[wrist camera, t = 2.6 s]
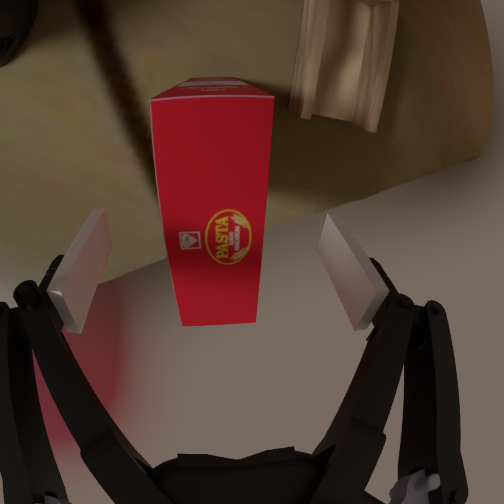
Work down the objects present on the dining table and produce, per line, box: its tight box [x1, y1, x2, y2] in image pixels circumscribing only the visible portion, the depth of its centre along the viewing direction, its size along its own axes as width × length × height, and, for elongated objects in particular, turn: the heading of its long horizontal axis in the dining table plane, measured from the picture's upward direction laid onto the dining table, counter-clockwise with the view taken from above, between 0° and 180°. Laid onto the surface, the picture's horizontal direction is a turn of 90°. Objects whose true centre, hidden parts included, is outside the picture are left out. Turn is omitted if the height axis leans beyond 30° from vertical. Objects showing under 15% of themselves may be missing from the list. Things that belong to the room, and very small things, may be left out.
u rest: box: [288, 0, 399, 133], centre depth 26 cm, size 10×20×6 cm, turn 173°
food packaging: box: [150, 77, 275, 326], centre depth 24 cm, size 15×5×25 cm, turn 177°
